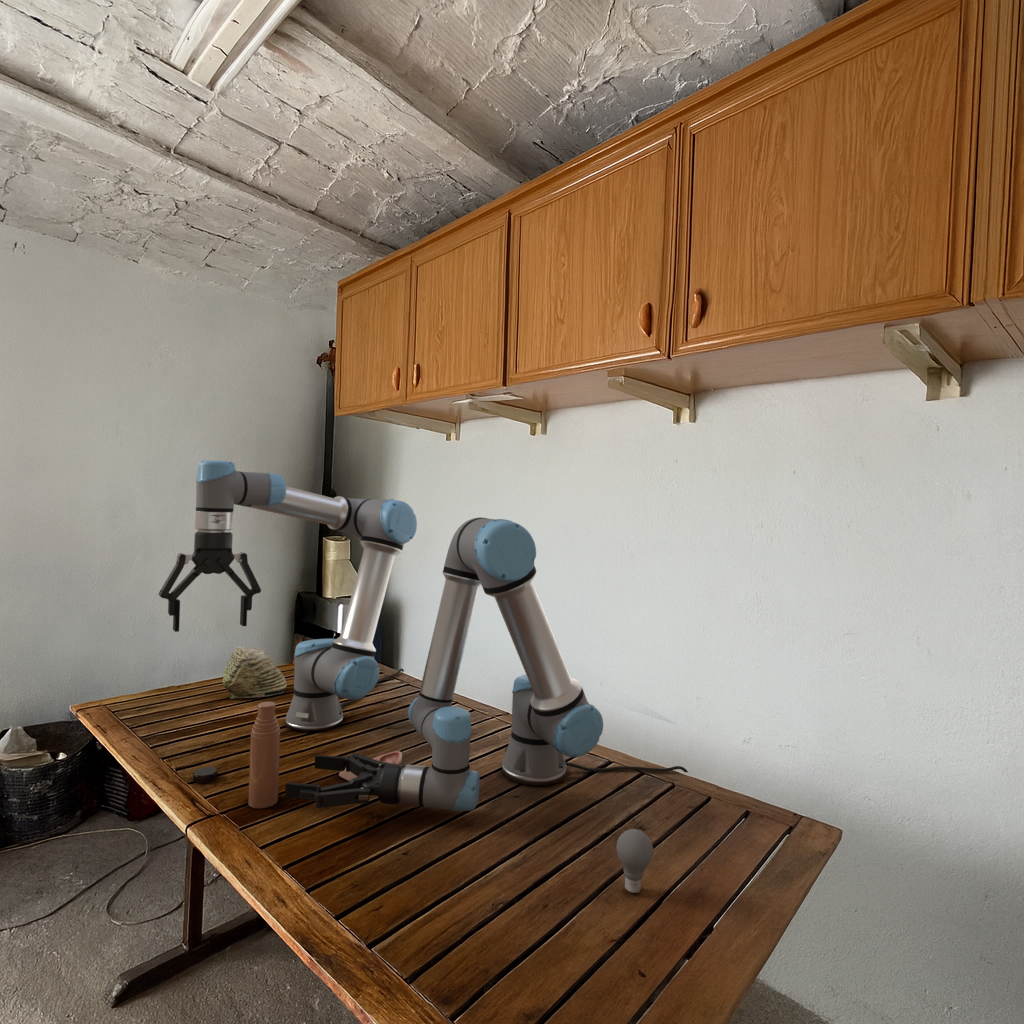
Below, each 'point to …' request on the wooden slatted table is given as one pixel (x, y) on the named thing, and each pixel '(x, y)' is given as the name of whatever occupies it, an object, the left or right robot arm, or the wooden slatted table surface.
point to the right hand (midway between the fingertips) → (301, 774)
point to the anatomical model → (389, 758)
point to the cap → (205, 775)
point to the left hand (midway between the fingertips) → (210, 627)
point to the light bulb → (634, 857)
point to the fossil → (252, 674)
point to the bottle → (264, 758)
